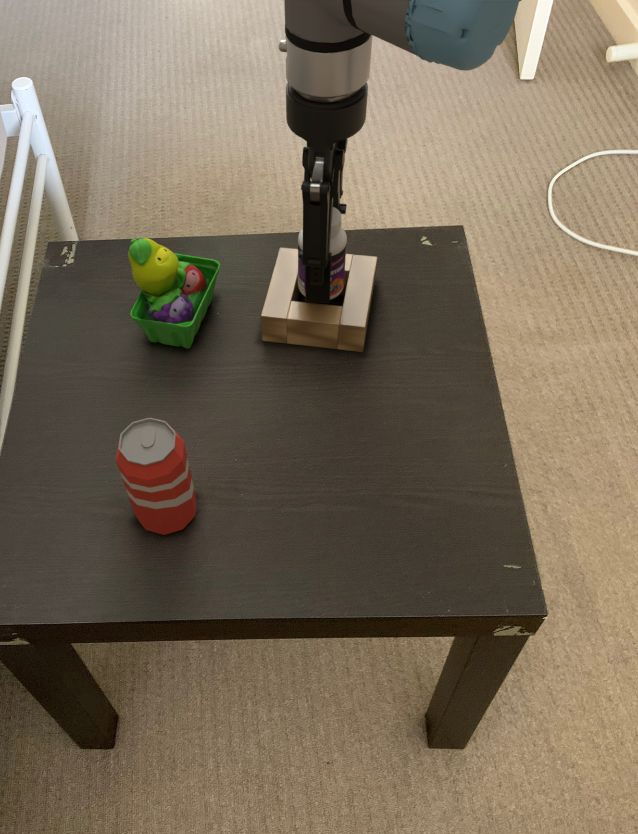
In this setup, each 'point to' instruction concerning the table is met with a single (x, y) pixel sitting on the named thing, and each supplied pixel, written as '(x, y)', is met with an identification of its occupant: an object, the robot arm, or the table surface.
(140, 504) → the beverage can
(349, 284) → the block
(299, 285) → the pill bottle
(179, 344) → the fruit basket
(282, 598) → the table surface
